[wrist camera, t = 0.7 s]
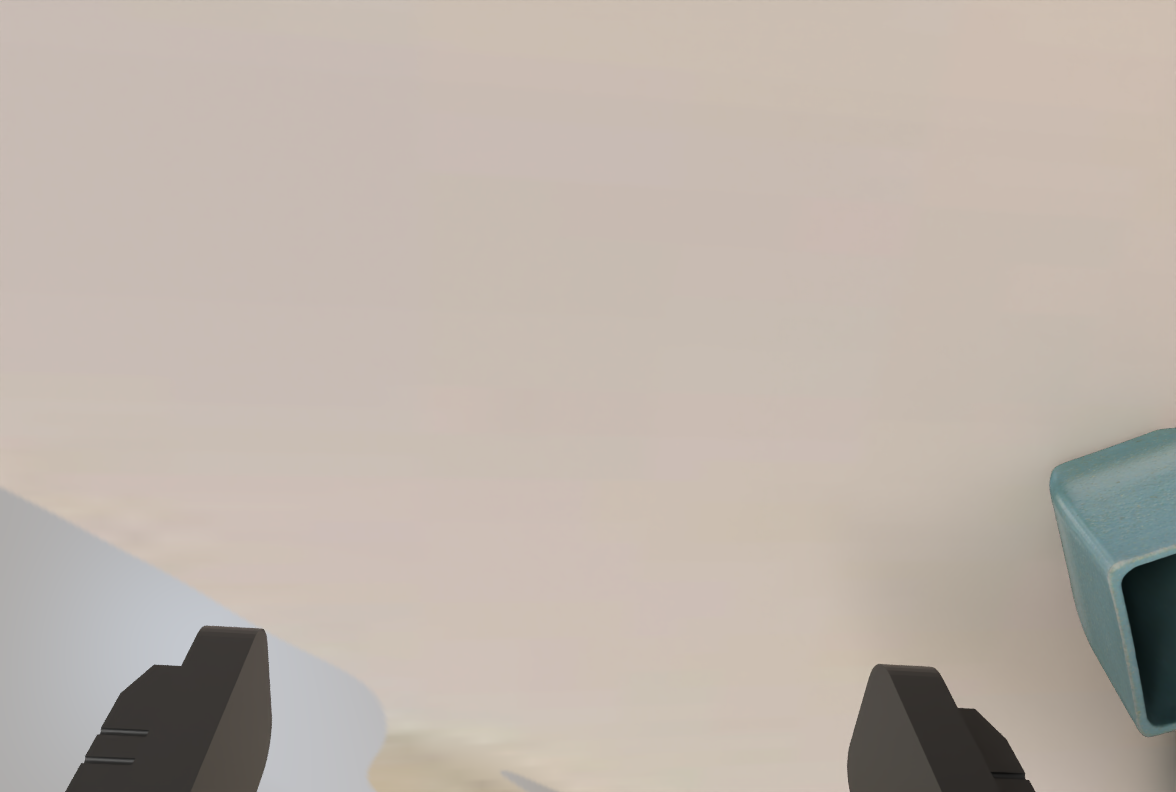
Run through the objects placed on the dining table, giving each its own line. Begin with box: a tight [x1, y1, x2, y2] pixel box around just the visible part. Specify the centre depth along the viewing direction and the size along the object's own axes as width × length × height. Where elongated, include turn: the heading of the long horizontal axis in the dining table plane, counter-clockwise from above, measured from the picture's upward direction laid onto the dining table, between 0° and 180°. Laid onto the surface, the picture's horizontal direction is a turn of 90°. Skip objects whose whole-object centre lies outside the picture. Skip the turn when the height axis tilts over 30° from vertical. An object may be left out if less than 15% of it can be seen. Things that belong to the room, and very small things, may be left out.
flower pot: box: [1050, 428, 1176, 737], centre depth 39 cm, size 9×9×9 cm
